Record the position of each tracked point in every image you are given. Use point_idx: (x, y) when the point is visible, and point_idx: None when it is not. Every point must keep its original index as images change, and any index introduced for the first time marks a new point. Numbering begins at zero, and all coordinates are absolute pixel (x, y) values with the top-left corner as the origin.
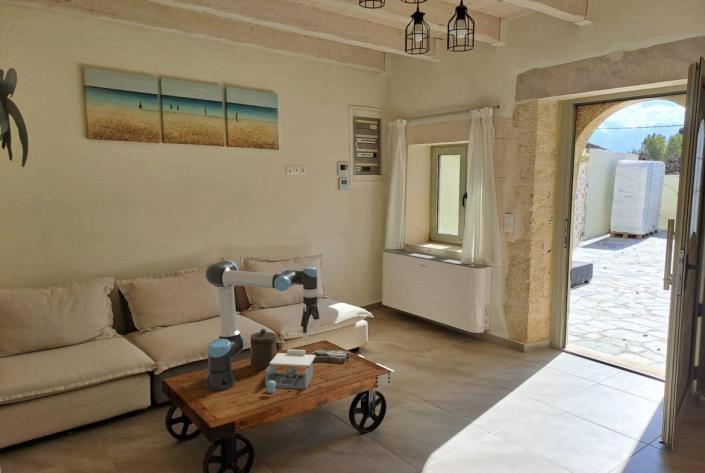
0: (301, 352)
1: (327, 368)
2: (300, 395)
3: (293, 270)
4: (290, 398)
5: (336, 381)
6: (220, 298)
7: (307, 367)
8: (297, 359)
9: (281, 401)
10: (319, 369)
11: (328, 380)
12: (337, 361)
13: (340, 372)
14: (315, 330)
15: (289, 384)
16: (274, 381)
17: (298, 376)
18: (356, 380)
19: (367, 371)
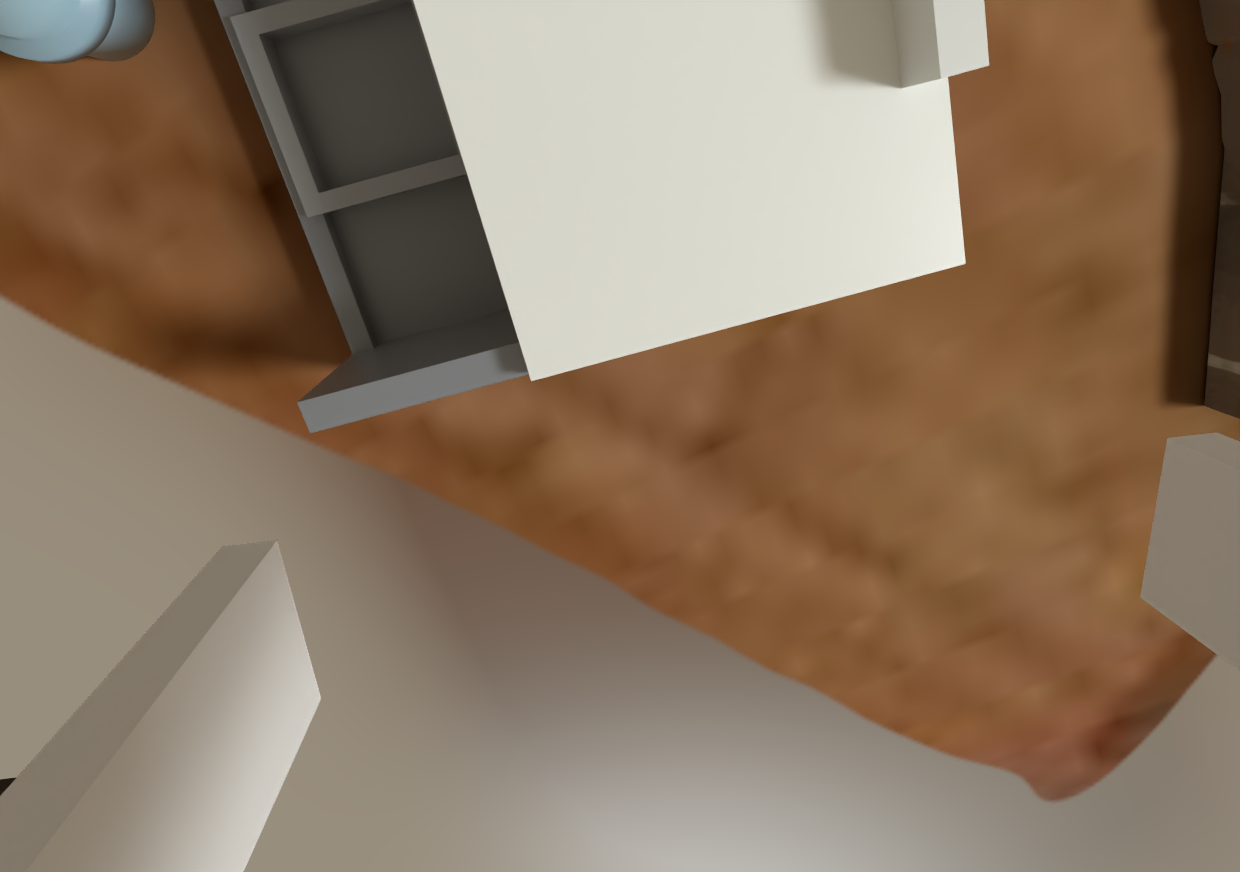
0: (917, 16)
1: (1018, 303)
2: (246, 369)
3: None
4: (124, 308)
5: (712, 538)
6: None
7: (508, 353)
8: (679, 63)
9: (3, 254)
10: (968, 227)
11: (707, 458)
12: (1218, 337)
13: (941, 479)
14: (1171, 562)
15: (297, 171)
16: (40, 15)
17: None
18: (797, 681)
19: (1025, 685)
